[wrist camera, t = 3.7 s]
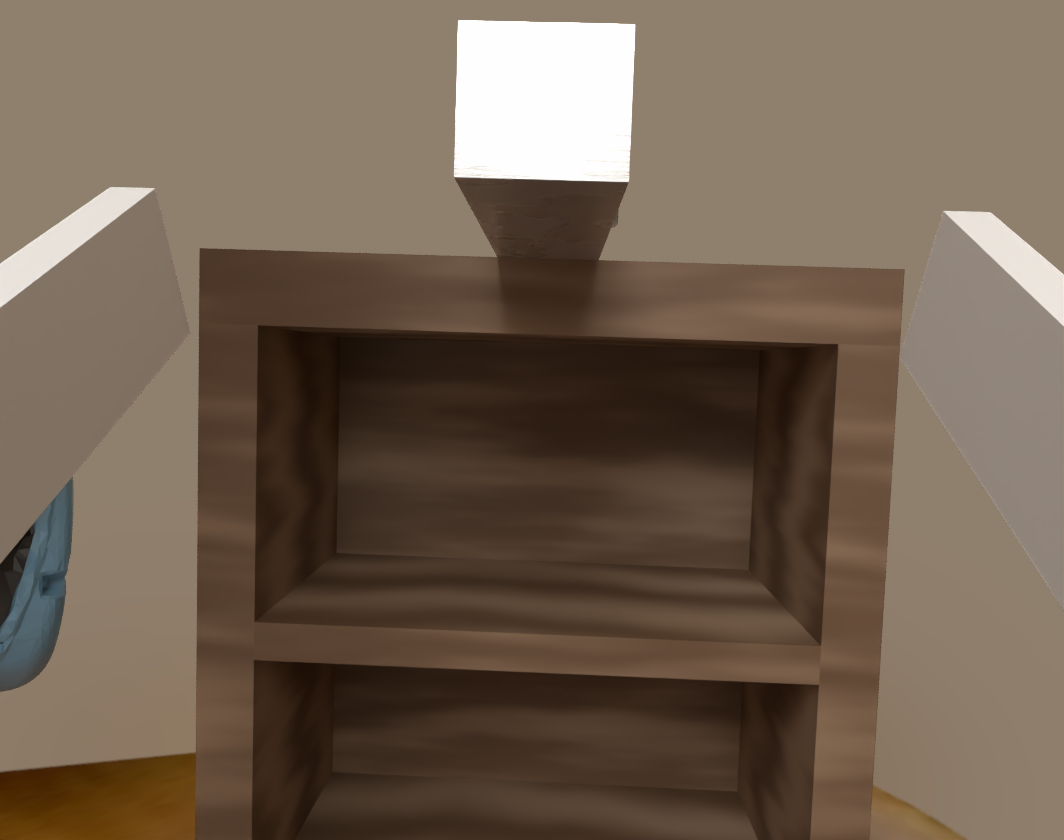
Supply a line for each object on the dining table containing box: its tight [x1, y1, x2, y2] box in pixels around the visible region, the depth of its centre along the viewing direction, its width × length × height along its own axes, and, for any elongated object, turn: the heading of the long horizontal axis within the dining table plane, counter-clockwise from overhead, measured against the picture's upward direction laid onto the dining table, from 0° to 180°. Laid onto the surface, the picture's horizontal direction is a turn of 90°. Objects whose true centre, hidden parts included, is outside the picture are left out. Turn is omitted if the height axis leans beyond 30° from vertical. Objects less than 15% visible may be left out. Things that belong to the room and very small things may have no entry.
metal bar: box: [454, 21, 635, 260], centre depth 34 cm, size 30×7×10 cm, turn 178°
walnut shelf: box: [195, 248, 905, 840], centre depth 41 cm, size 14×28×30 cm, turn 88°
